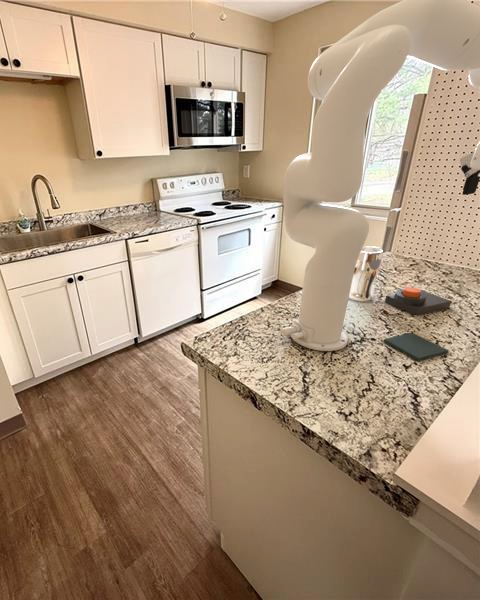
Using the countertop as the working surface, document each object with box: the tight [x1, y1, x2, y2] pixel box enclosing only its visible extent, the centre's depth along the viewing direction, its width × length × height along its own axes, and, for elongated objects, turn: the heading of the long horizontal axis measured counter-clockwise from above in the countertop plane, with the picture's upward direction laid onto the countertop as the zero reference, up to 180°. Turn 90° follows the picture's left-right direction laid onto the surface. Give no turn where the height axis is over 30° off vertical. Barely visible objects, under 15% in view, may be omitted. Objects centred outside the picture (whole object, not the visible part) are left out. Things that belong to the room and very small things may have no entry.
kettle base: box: [384, 288, 452, 316], centre depth 86 cm, size 12×9×4 cm
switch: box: [402, 286, 422, 298], centre depth 84 cm, size 4×4×2 cm
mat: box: [383, 332, 449, 362], centre depth 70 cm, size 8×8×1 cm
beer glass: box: [349, 245, 384, 302], centre depth 91 cm, size 7×7×15 cm
